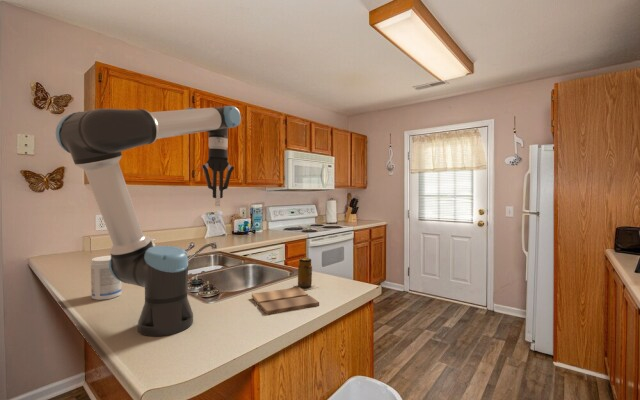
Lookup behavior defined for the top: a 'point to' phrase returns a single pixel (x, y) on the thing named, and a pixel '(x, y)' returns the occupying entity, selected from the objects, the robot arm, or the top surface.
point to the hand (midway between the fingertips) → (217, 206)
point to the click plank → (278, 295)
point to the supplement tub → (103, 280)
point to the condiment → (305, 274)
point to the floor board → (288, 304)
